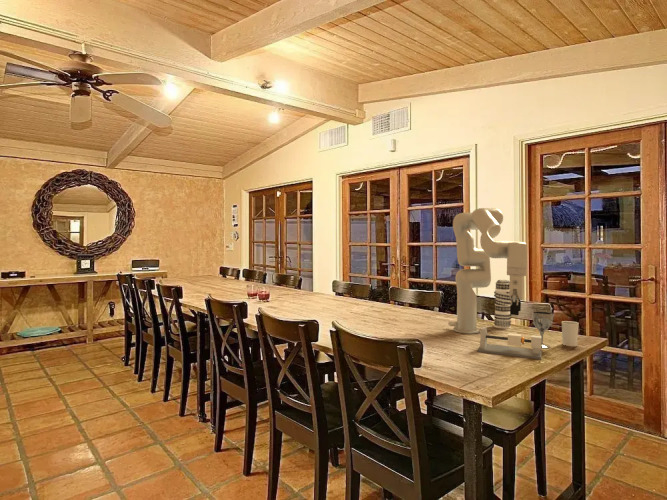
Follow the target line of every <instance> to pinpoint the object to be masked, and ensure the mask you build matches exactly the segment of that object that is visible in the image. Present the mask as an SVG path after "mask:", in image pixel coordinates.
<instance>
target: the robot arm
mask: <svg viewBox="0 0 667 500" xmlns="http://www.w3.org/2000/svg"><path fill="white" fill-rule="evenodd" d="M453 218H454V219H453V221H452V229H453V233H454V236H455V241H456V257H457V263H458V265H459V266H461V267H477V268H463V269H460V270H458V271H457V272H456V274H455V277H454V279H455V284H456V294H457V295H456V298H457V299H456V305H457V306H456V321H448V326H450V327H453V331H454V332H456V333H460V334H468V335H469V334H470V335H473V334H478V333H480V332H481V329H480V328H478V327H477V315H478V312H477V311H478V309H477V307H478V305H477V303H478V300H477V299H478V298H477V294H476V292H475V291H474V288H475V289H476V288H477V289H478V288H480V289H482V288H488V287H489V286H490V285H491V282H492V273H491V259H506V276H509V294H510V299H511V301H510V302H511V305H510V314H511V316H519V314H520V312H521V310H522V309H521V308H522V301H523V299H524V298H525V279H524V278H525V277H526V276H527V267H528V266H527V265H528V264H527V263H528V244H527V242H524V241H515V240H494V238H496V237H497V236H498V235H499V234H500V232H501V230H502V229H501V224H502V223H503V222H504V215H503V212H502V211H501V210H500V209H498V208H495V207H494V208H493V207H491V208H490V207H486V208H485V207H480V208H479V207H478V208H477V209H474V210H473V211H472V212H461V213H457V214H456V215H455V216H454V217H453ZM469 230H471V231H472V230H477V231H478V230H479V232H480V238H479V239H480V241H479V242H480V247H475V242H474V241H475V240H474V237H473V235H472V234H471V232H470V231H469Z"/></svg>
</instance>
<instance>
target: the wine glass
mask: <svg viewBox="0 0 667 500" xmlns="http://www.w3.org/2000/svg"><path fill="white" fill-rule="evenodd" d="M531 314H532V323H533V326H535V328H536V329H537V330H538V331H539V334H540V335H539V336H541V349H550V348H551V346H550V345H548V344H544V341H543V339H544V335H545V332H546V331H547V330H548V329H549V328H550V327H551V325H552V323H553V322H552V321H553V312H550V311H547V310H546V311H545V310H533V311H532V312H531Z"/></svg>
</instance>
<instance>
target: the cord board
mask: <svg viewBox="0 0 667 500" xmlns="http://www.w3.org/2000/svg"><path fill="white" fill-rule="evenodd" d="M479 333H480V337H479V338H480V340H479V347H478V348H477V353H482V354H483V353H485V354H491V355H500V356H501V355H502V356H510V357H516V358H525V359H531V360H532V359H534V360H542V355H543V350H542V348H541V335H534V334H532V335H531V338H530V339H528V338H525V337H526V336H522V338H521V345H525V343H527V344H528V343H530V347H529V348H528V347H521V346H512V345H501V344H492V343H488V339H492V340H503V341H508V336H497V335H488V327H486V326H485V327H484V326H482V327H481V328H480V332H479Z"/></svg>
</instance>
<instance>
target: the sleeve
mask: <svg viewBox="0 0 667 500" xmlns="http://www.w3.org/2000/svg"><path fill="white" fill-rule="evenodd" d="M507 337H508V340H507V346H514V347H521V346H522V344H521V338H522V337H523V336H522V333H521V334H519V333H511V332H509V333H508V334H507Z"/></svg>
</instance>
